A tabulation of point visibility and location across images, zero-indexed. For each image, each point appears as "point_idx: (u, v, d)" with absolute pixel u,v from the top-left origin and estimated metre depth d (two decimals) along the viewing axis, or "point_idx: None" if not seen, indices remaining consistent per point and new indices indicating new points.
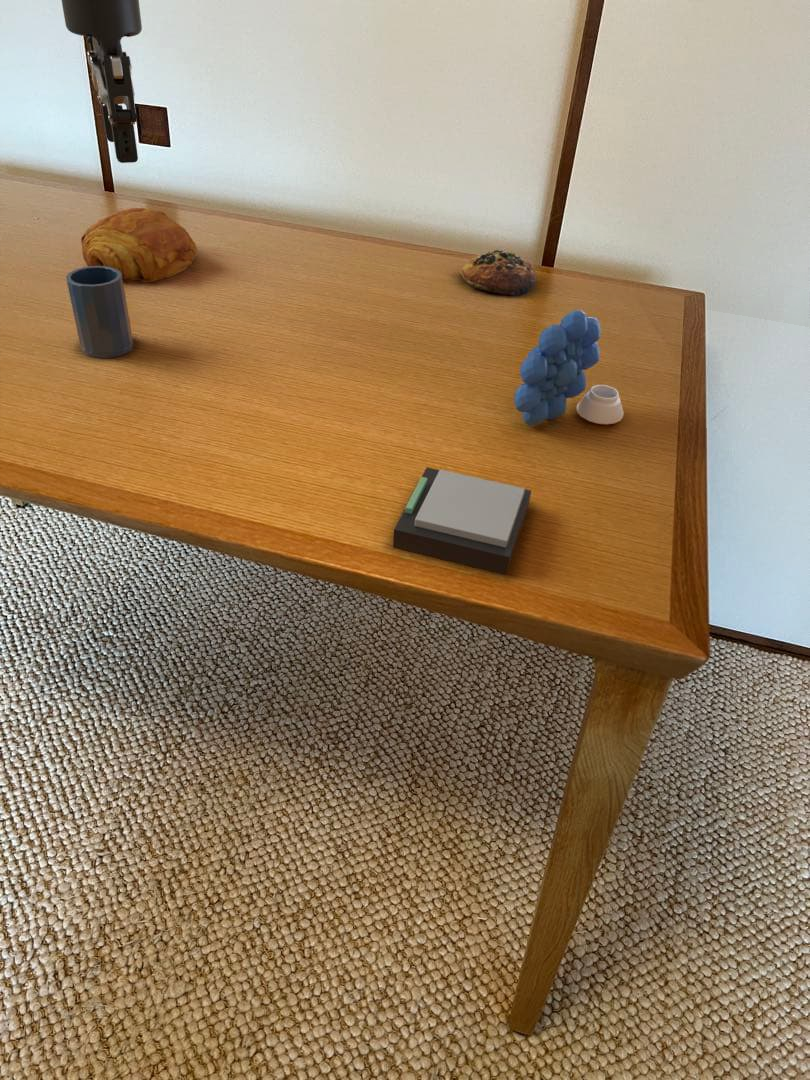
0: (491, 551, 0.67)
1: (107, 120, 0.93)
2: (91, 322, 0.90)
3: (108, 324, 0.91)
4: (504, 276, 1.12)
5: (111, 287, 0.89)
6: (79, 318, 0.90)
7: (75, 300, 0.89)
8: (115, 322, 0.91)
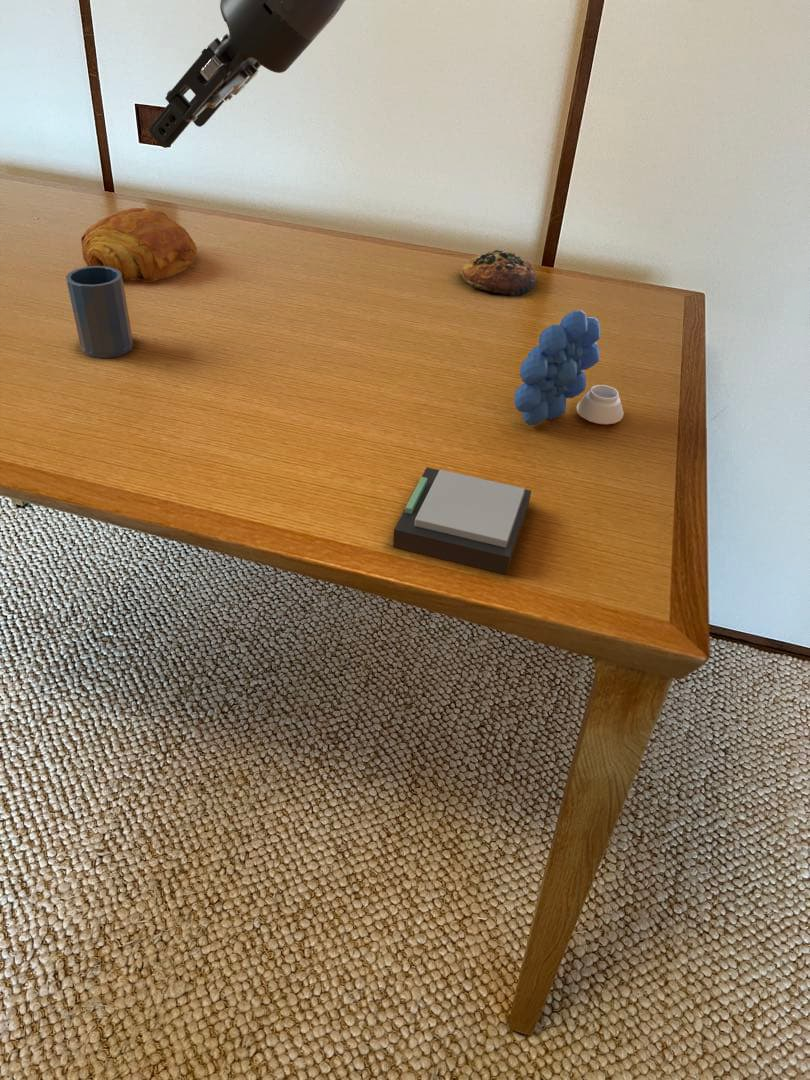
0: (491, 551, 0.67)
1: None
2: (91, 322, 0.90)
3: (108, 324, 0.91)
4: (504, 276, 1.12)
5: (111, 287, 0.89)
6: (79, 318, 0.90)
7: (75, 300, 0.89)
8: (115, 322, 0.91)
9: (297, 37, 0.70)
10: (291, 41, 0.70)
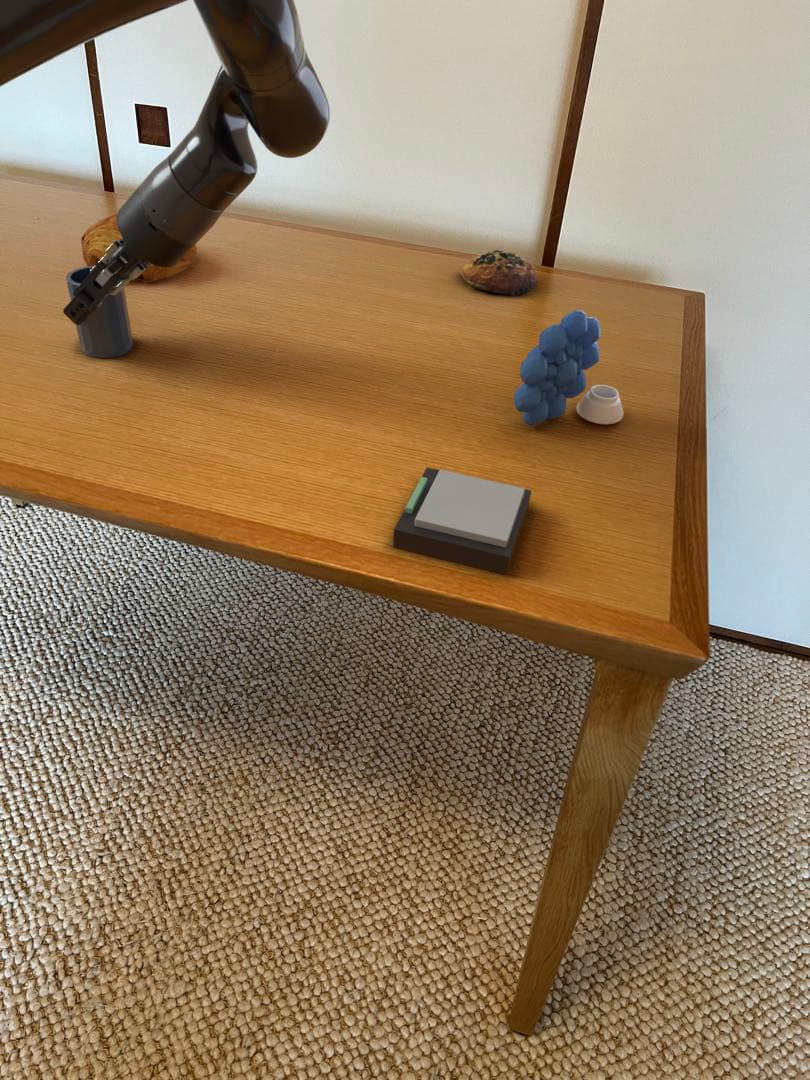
0: (491, 551, 0.67)
1: None
2: (91, 322, 0.90)
3: (108, 324, 0.91)
4: (504, 276, 1.12)
5: None
6: None
7: None
8: (115, 322, 0.91)
9: (180, 245, 0.83)
10: (176, 247, 0.83)
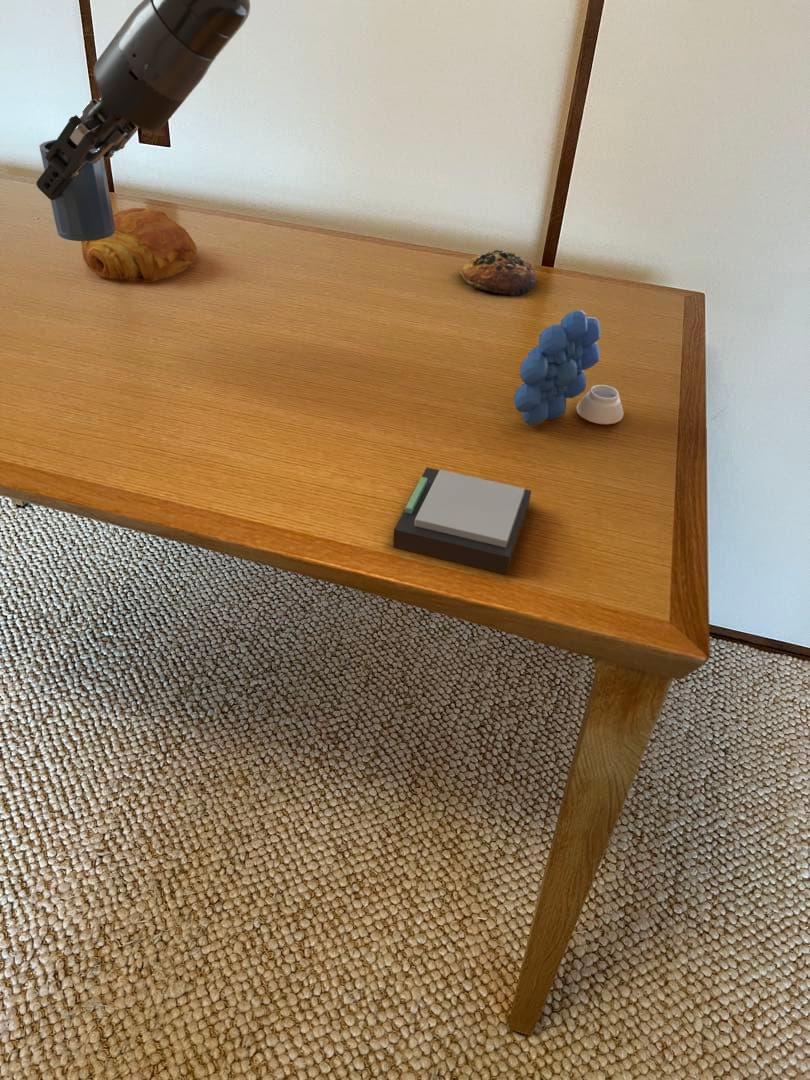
0: (491, 551, 0.67)
1: None
2: (67, 197, 0.81)
3: (86, 201, 0.82)
4: (504, 276, 1.12)
5: None
6: None
7: None
8: (94, 199, 0.82)
9: (165, 100, 0.75)
10: (159, 103, 0.75)
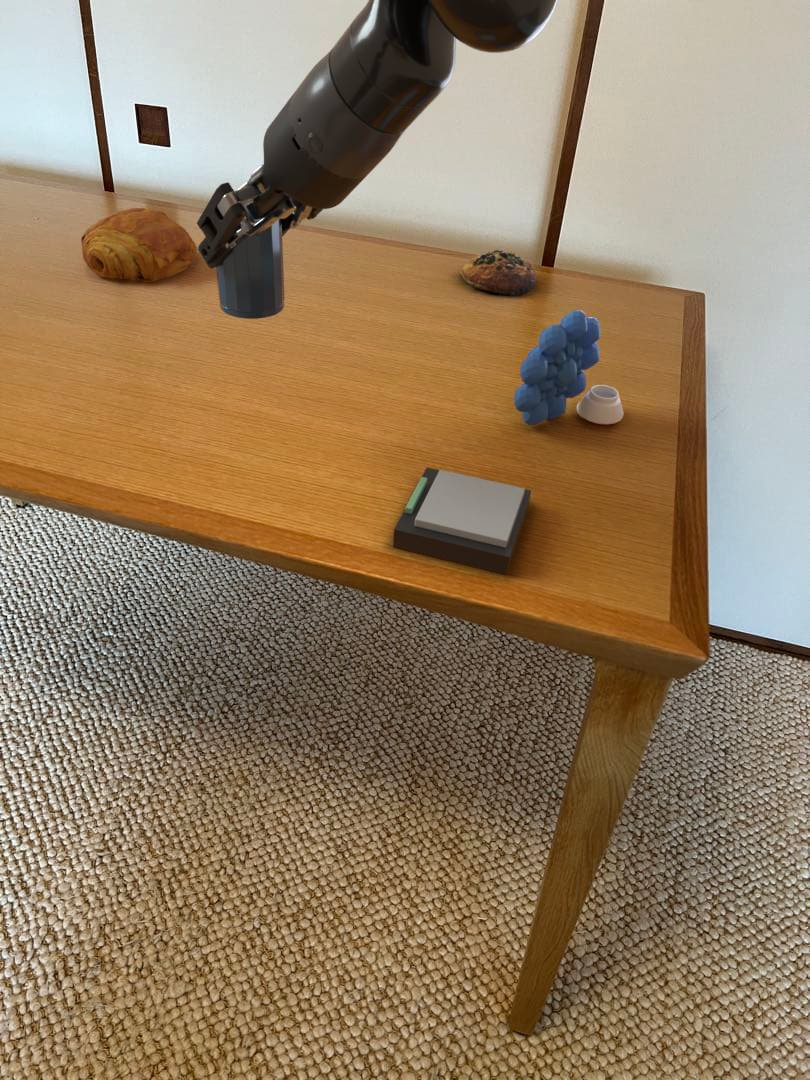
0: (491, 551, 0.67)
1: None
2: (227, 268, 0.70)
3: (246, 275, 0.70)
4: (504, 276, 1.12)
5: None
6: None
7: None
8: (256, 274, 0.70)
9: (331, 177, 0.59)
10: (324, 179, 0.59)
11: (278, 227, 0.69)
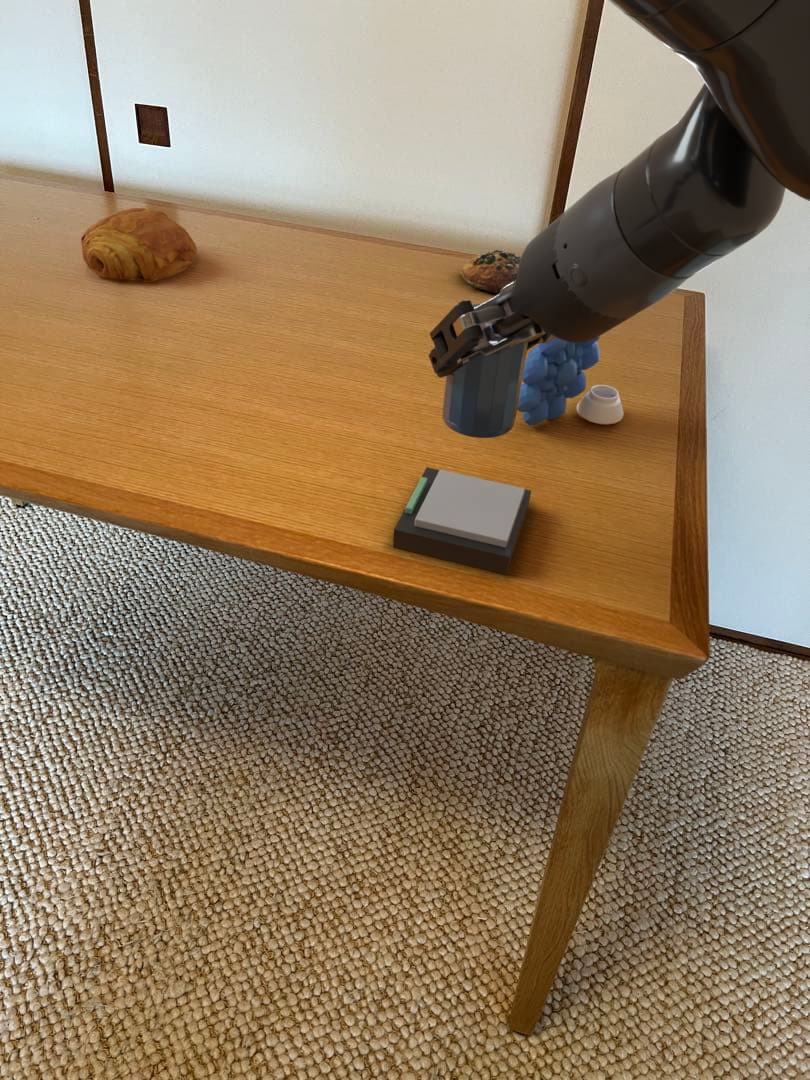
0: (491, 551, 0.67)
1: None
2: (456, 380, 0.61)
3: (476, 391, 0.61)
4: (504, 276, 1.12)
5: None
6: None
7: None
8: (487, 392, 0.61)
9: (590, 313, 0.48)
10: (582, 315, 0.49)
11: (523, 344, 0.59)
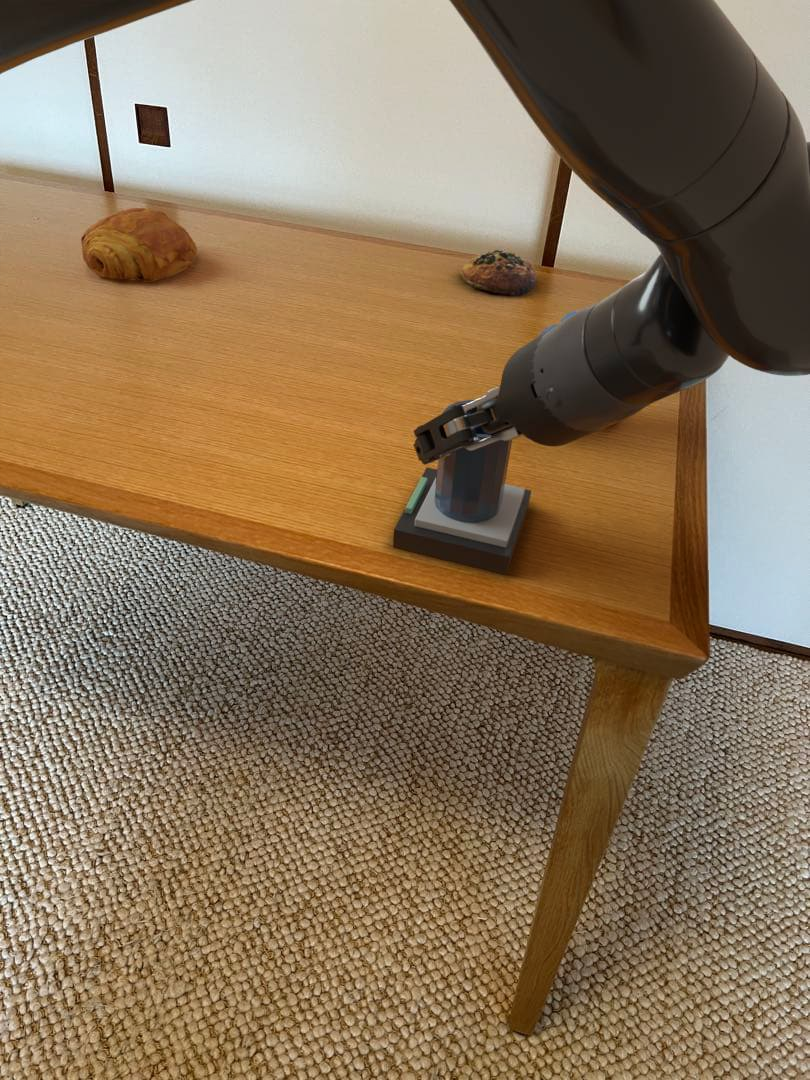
0: (491, 551, 0.67)
1: None
2: (447, 472, 0.67)
3: (464, 483, 0.66)
4: (504, 276, 1.12)
5: None
6: (439, 460, 0.67)
7: None
8: (475, 484, 0.66)
9: (565, 428, 0.53)
10: (557, 428, 0.54)
11: (507, 441, 0.65)
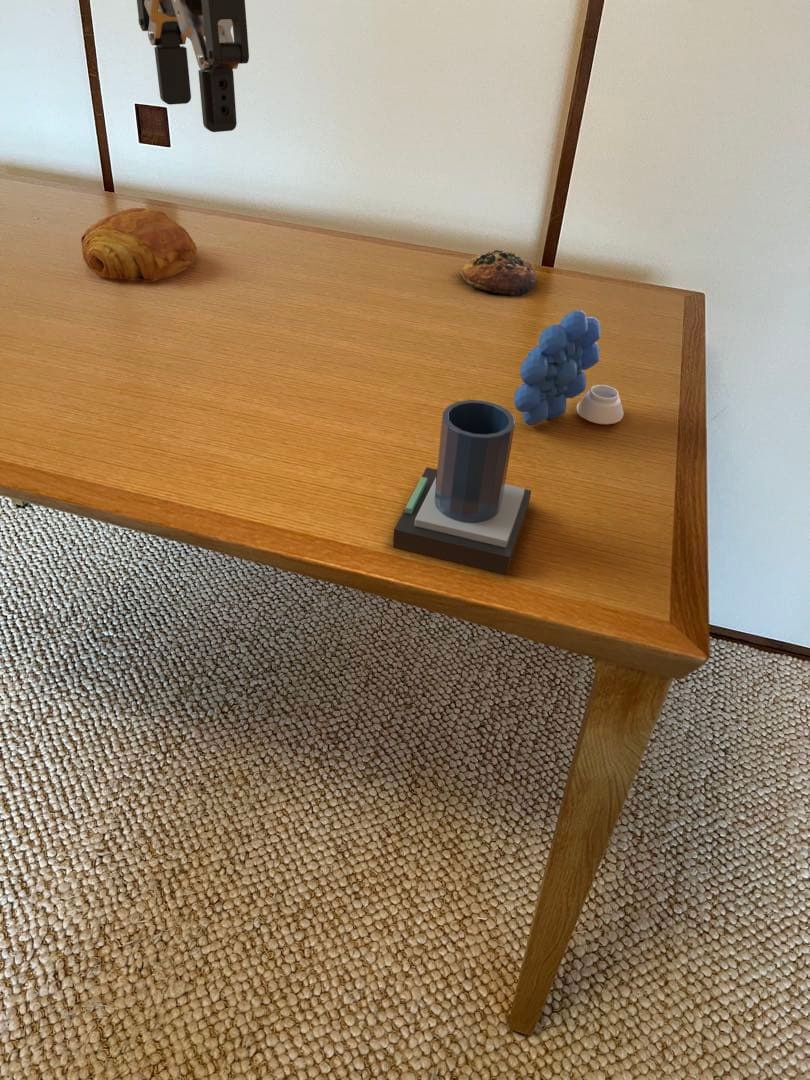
0: (491, 551, 0.67)
1: (164, 70, 0.60)
2: (447, 472, 0.67)
3: (464, 483, 0.66)
4: (504, 276, 1.12)
5: (484, 442, 0.63)
6: (439, 460, 0.67)
7: (441, 439, 0.66)
8: (475, 484, 0.66)
9: None
10: None
11: (507, 441, 0.65)
